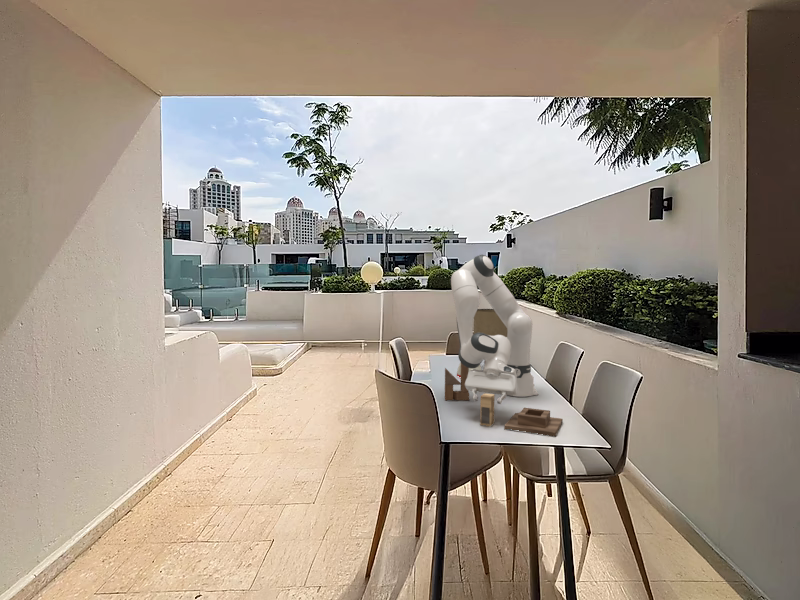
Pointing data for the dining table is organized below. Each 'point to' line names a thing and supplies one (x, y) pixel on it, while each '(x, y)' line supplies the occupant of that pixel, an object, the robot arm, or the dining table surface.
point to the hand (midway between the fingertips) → (486, 401)
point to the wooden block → (451, 381)
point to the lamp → (489, 323)
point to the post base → (534, 422)
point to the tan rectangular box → (487, 409)
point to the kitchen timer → (469, 369)
